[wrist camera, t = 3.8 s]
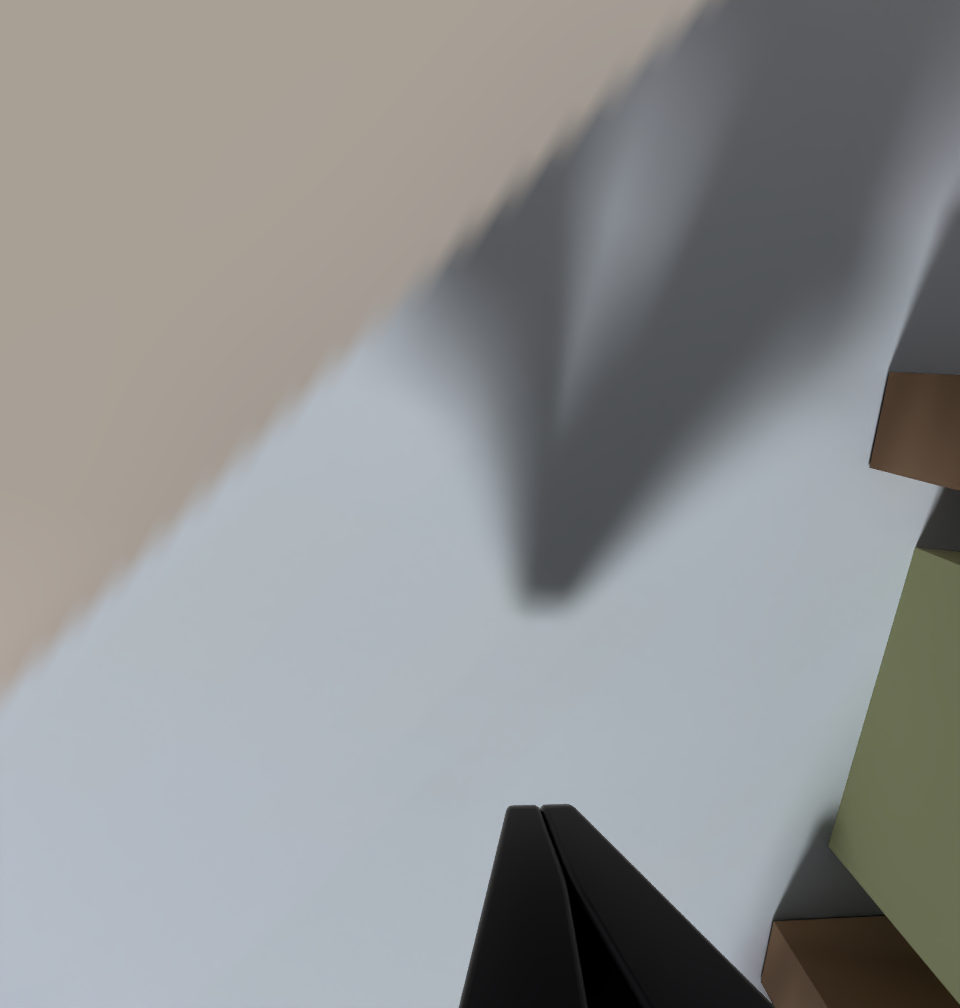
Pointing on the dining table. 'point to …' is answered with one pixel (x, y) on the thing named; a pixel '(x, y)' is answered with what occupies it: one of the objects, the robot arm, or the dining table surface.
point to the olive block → (913, 772)
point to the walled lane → (875, 940)
